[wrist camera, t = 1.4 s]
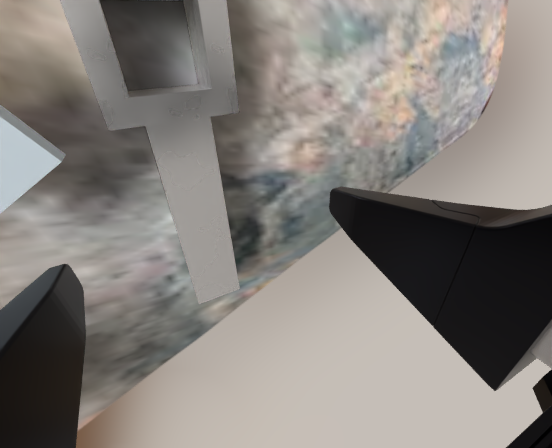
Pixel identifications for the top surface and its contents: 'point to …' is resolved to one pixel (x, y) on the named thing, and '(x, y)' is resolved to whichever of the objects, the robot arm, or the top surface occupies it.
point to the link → (176, 129)
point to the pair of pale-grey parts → (22, 158)
